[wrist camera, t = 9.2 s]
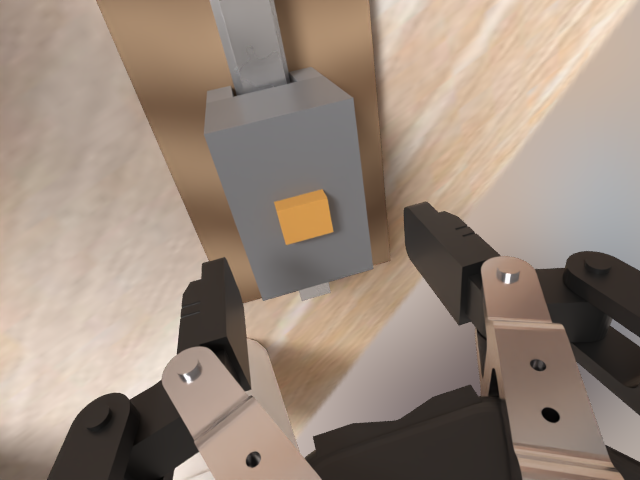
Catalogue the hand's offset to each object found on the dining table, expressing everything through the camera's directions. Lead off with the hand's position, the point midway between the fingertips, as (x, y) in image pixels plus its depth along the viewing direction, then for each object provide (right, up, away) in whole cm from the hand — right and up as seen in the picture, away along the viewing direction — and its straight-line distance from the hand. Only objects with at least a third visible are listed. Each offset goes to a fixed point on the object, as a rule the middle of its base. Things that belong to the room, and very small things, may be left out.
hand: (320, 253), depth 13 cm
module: (-2, +5, +8) cm, 10 cm away
